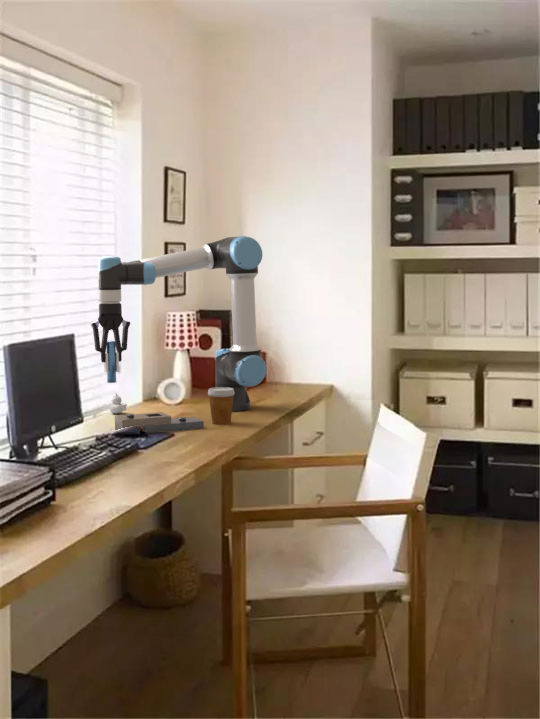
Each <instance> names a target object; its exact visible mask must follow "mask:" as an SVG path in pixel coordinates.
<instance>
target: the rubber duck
mask: <svg viewBox="0 0 540 719" xmlns="http://www.w3.org/2000/svg"><path fill="white" fill-rule="evenodd" d="M111 401H112V404H110V406H109V411H110V412H111V413H112V414H114V415H119V414H122V412H125V411H127V407H128V404H127V403H123V402H122V398H121V396H120V394H117V393H115V395H114V396H113V398H112V399H111Z"/></svg>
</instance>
